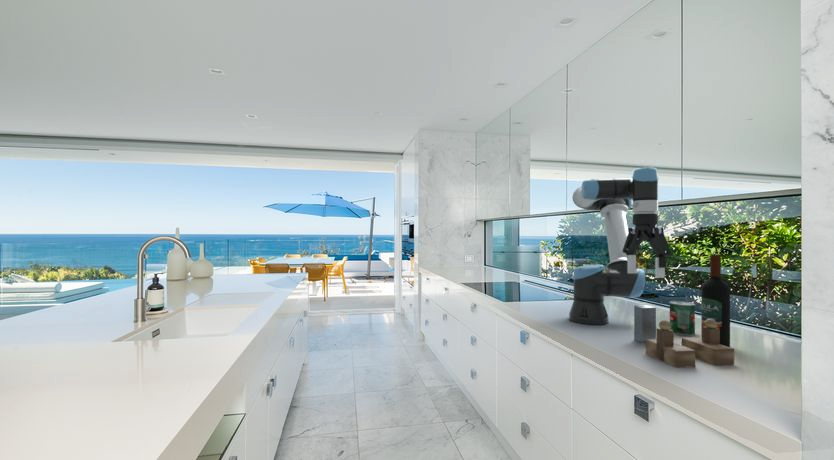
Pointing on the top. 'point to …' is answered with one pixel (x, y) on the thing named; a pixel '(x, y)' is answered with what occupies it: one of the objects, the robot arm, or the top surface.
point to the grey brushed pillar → (644, 323)
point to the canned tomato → (682, 317)
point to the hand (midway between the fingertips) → (645, 275)
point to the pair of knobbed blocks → (690, 347)
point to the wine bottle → (716, 301)
